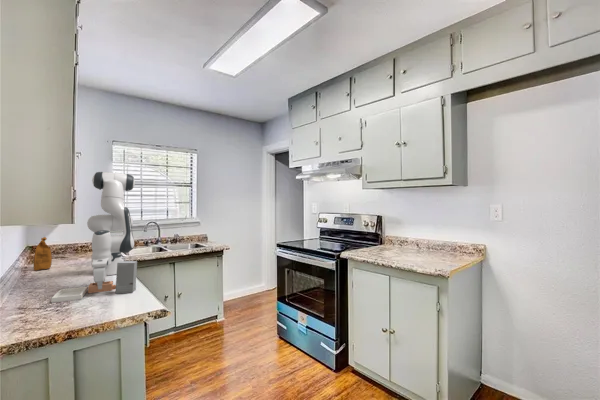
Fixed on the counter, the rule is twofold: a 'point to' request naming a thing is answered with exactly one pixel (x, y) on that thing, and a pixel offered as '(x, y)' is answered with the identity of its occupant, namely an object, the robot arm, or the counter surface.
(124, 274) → the skincare box
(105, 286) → the brown open box
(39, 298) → the counter surface
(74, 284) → the counter surface
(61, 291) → the tray
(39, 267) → the coffee package
